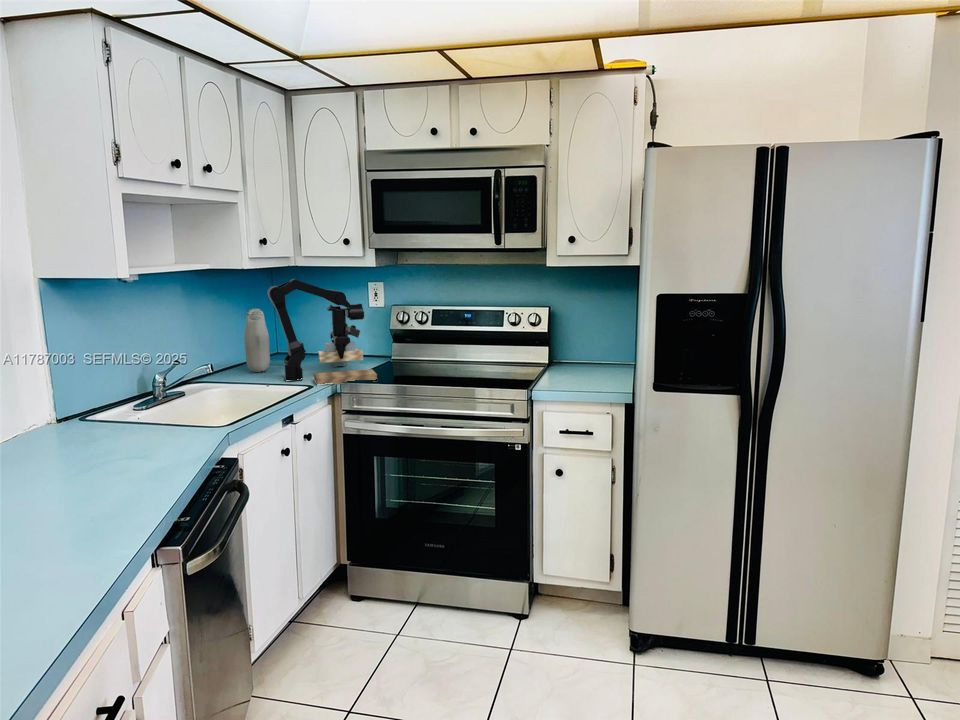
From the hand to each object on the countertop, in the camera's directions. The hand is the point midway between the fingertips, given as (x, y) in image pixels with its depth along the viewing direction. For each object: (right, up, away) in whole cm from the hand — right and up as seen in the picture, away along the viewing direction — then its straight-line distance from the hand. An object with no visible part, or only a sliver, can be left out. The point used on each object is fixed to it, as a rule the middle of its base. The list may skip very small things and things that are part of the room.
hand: (340, 357), depth 294 cm
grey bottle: (-38, -7, +11) cm, 40 cm away
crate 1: (-4, +2, -2) cm, 5 cm away
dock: (+4, -10, -10) cm, 14 cm away
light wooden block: (0, -1, 0) cm, 1 cm away
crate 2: (+4, +3, +1) cm, 5 cm away
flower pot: (-5, -4, +23) cm, 23 cm away
